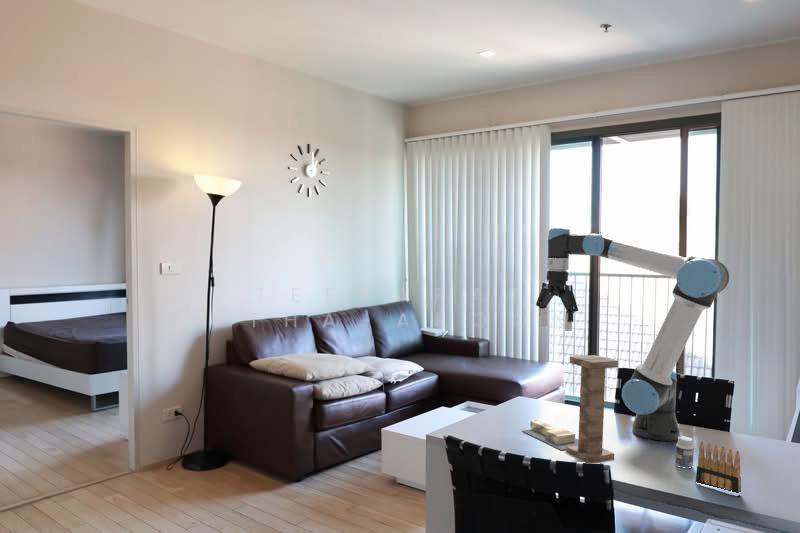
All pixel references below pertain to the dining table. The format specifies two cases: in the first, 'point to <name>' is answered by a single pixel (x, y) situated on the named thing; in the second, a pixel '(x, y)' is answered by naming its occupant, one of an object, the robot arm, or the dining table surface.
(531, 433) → the mat
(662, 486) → the dining table surface
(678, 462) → the pill bottle
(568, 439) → the paddle
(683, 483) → the dining table surface
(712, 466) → the ammunition clip
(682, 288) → the robot arm
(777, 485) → the dining table surface
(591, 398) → the stand
